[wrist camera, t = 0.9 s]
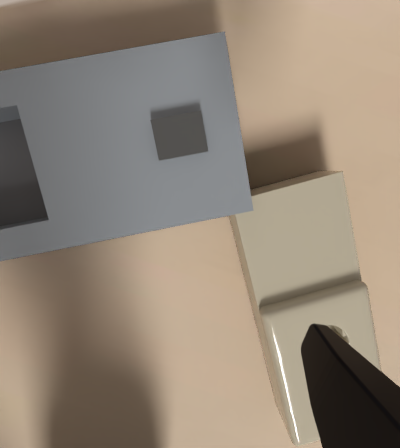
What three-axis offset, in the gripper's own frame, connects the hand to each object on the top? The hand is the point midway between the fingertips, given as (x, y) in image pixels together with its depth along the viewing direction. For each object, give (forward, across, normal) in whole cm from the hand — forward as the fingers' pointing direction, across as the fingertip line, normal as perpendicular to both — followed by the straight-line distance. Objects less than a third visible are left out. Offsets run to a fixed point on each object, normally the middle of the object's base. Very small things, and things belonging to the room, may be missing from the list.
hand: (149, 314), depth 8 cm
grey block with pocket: (+15, +6, +1) cm, 16 cm away
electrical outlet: (+13, -11, +8) cm, 18 cm away
